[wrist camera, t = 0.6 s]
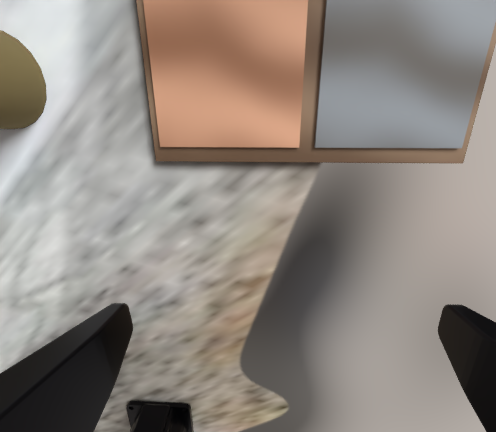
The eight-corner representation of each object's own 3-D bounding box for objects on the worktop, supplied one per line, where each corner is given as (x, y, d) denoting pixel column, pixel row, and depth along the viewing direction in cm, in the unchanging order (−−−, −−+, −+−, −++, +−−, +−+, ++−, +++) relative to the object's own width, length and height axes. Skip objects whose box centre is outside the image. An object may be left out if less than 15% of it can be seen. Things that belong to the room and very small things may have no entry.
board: (455, 160, 20) (465, 164, 19) (159, 158, 21) (154, 162, 20) (516, -73, 15) (534, -85, 14) (133, -61, 16) (125, -71, 15)
